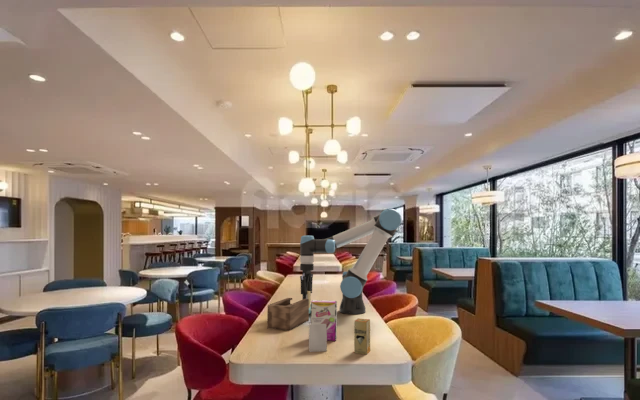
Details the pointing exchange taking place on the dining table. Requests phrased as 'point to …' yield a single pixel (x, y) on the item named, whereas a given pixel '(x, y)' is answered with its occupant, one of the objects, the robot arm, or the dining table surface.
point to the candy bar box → (325, 316)
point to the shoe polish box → (362, 336)
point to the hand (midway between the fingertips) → (306, 305)
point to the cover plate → (309, 300)
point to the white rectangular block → (317, 337)
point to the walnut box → (287, 314)
